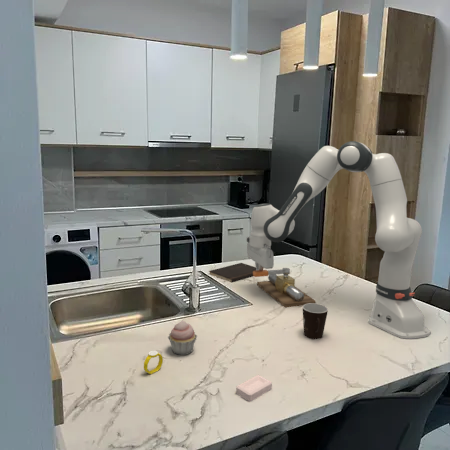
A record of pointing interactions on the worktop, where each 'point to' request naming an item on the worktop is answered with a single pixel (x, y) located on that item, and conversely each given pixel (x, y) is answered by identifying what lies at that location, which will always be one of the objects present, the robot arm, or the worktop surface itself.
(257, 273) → the valve lever
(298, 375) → the worktop surface
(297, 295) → the valve body
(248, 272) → the hardcover book
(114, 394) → the worktop surface
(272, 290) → the mount board
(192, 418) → the worktop surface
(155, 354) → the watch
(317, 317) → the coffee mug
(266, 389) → the soap bar
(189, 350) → the cupcake
